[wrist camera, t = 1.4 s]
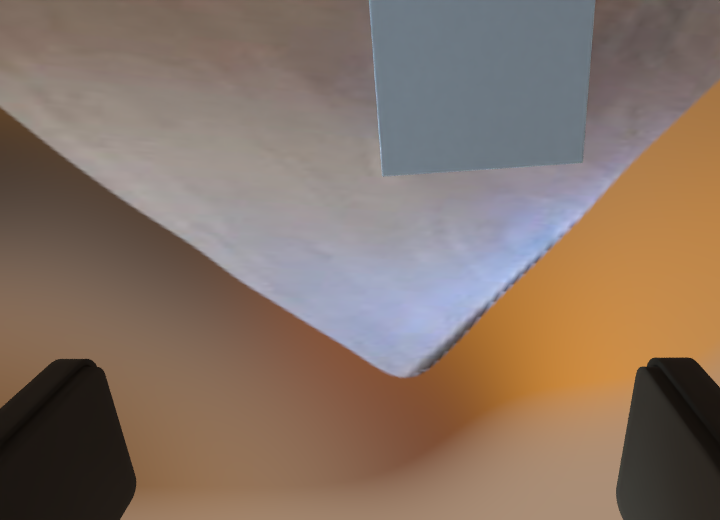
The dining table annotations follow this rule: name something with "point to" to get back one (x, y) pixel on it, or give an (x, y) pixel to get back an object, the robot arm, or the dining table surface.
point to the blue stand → (480, 83)
